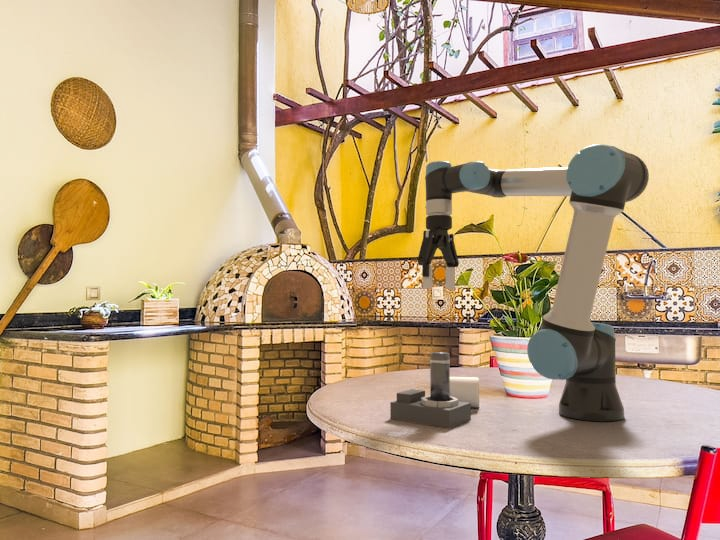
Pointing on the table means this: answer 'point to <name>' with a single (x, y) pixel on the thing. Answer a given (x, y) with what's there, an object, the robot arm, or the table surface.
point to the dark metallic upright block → (440, 376)
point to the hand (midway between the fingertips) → (439, 289)
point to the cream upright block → (465, 390)
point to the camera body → (429, 409)
